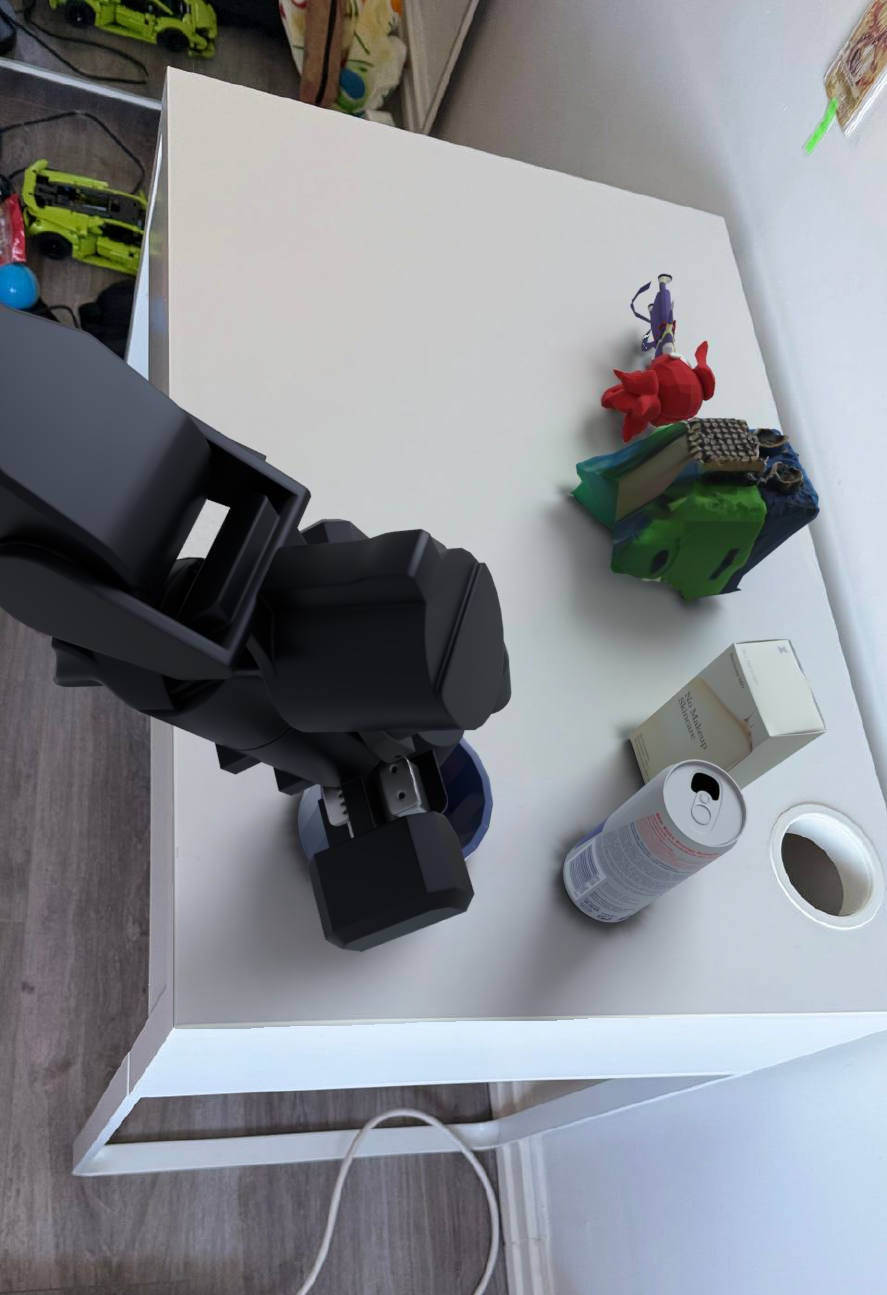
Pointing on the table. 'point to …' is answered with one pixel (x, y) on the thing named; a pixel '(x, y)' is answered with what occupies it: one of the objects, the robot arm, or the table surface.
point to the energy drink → (656, 840)
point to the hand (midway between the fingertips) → (429, 770)
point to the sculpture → (698, 502)
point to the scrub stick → (436, 743)
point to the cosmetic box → (735, 714)
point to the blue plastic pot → (463, 813)
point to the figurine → (660, 375)
